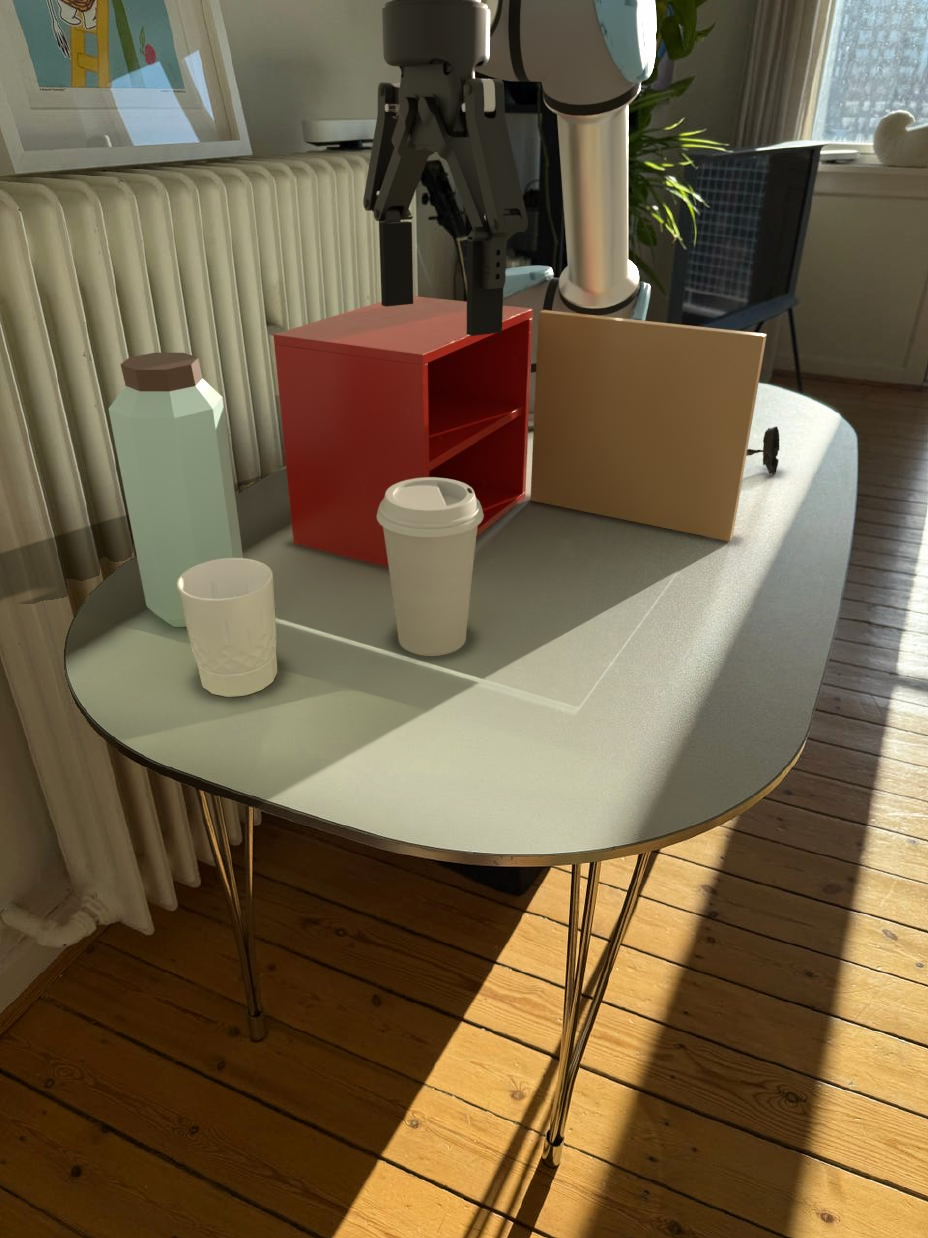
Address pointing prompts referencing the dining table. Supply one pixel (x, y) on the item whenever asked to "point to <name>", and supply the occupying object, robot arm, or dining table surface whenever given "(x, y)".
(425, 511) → the coffee cup
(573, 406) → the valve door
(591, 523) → the dining table surface
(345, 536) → the cabinet
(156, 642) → the dining table surface
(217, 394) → the water bottle
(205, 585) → the white cup
